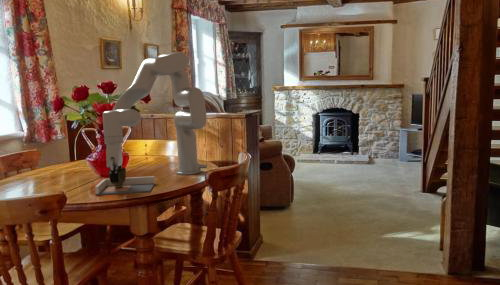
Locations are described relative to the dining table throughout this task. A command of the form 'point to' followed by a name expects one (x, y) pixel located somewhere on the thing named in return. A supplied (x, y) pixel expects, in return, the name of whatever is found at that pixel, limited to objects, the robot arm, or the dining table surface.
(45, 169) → the dining table surface
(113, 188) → the mat
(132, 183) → the corner walls
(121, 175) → the cup
